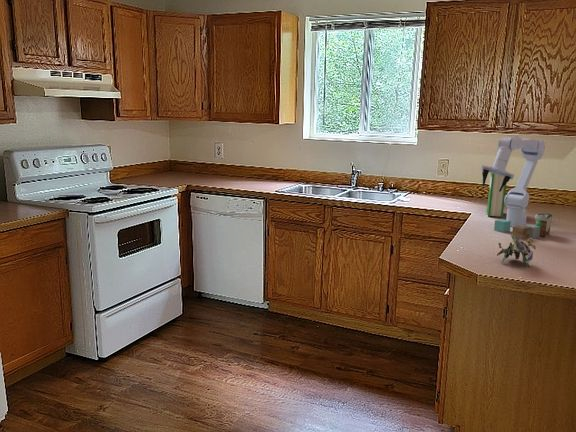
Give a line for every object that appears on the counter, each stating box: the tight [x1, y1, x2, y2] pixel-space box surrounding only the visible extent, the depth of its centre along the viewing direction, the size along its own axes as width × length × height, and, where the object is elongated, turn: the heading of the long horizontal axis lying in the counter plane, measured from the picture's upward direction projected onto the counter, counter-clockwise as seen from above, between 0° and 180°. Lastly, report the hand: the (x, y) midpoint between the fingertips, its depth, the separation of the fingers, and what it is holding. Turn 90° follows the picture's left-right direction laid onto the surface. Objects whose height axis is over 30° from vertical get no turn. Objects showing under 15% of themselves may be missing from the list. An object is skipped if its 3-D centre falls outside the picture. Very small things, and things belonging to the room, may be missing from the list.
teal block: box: [493, 218, 512, 233], centre depth 244 cm, size 5×5×5 cm
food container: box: [534, 211, 553, 239], centre depth 236 cm, size 12×6×10 cm, turn 143°
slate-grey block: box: [524, 224, 541, 239], centre depth 233 cm, size 5×5×5 cm
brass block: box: [511, 225, 530, 240], centre depth 230 cm, size 5×5×5 cm
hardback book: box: [486, 173, 507, 219], centre depth 282 cm, size 18×7×24 cm, turn 161°
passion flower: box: [496, 233, 537, 268], centre depth 188 cm, size 13×12×14 cm
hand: (491, 188), depth 237 cm, fingers open, 7 cm apart
